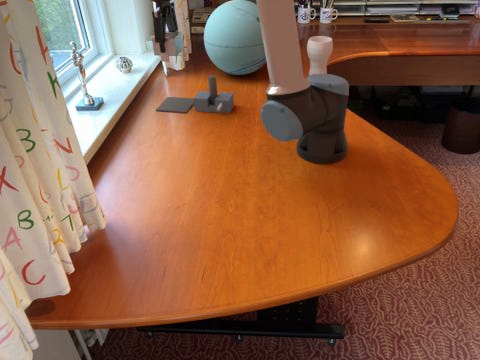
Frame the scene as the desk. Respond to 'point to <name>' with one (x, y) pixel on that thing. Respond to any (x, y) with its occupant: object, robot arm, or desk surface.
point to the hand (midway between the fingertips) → (170, 57)
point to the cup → (319, 53)
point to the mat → (176, 105)
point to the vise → (213, 99)
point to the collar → (170, 43)
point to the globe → (235, 38)
